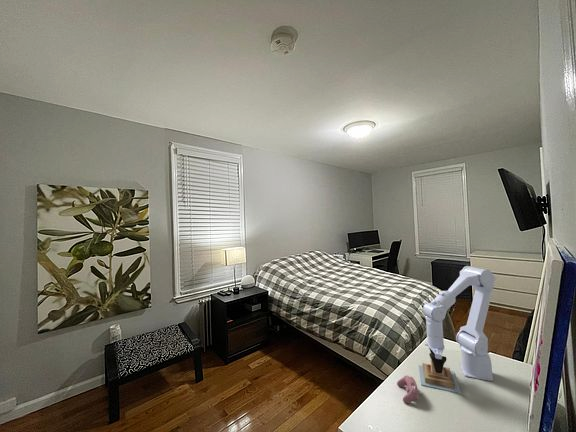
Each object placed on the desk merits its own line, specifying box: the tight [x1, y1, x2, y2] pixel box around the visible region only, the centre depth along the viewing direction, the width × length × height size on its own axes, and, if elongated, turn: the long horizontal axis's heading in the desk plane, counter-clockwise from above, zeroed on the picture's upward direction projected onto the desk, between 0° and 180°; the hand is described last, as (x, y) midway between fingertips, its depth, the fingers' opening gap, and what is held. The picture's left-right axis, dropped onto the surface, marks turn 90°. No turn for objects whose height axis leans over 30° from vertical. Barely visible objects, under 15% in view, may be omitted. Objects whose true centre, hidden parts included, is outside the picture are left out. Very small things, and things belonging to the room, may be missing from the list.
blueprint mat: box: [418, 364, 462, 395], centre depth 97 cm, size 13×13×1 cm
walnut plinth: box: [421, 362, 455, 389], centre depth 97 cm, size 10×10×3 cm
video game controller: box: [396, 374, 420, 404], centre depth 89 cm, size 10×5×7 cm, turn 169°
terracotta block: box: [429, 357, 444, 376], centre depth 97 cm, size 4×4×6 cm
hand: (437, 366), depth 97 cm, fingers open, 7 cm apart
